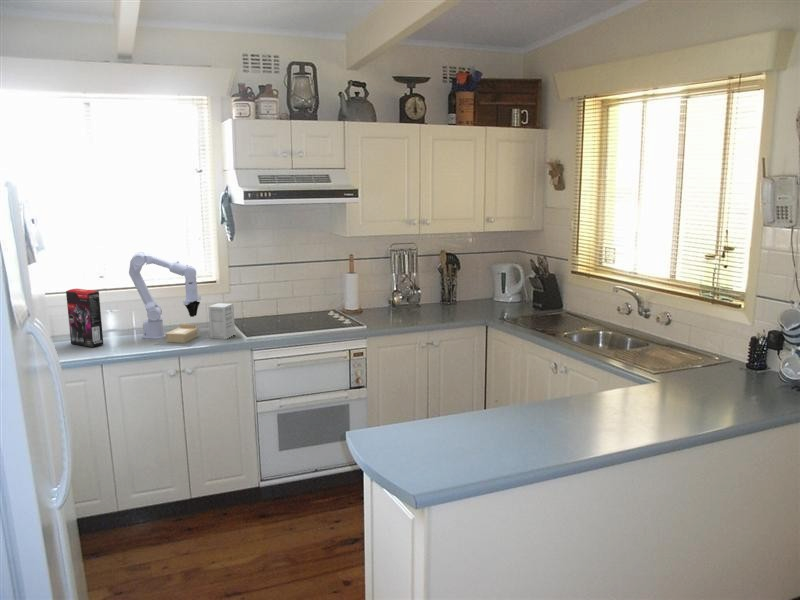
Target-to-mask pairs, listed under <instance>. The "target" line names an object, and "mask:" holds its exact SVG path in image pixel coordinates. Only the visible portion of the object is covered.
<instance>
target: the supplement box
mask: <svg viewBox="0 0 800 600" xmlns="http://www.w3.org/2000/svg"><path fill="white" fill-rule="evenodd" d="M234 312H235V311H234V303H219V302H217V303H215V304H214V303H213V304H211V305H209V306H208V316H209V318H208V319H209V331H210V335H209V336H210V338H211V339H224V340H228V339H230V338H232V337H234V336H233V335H235V336H236V327H235V326H236V325H235V313H234ZM231 336H232V337H231ZM229 337H230V338H229ZM227 338H228V339H227Z"/></svg>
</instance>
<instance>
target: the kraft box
mask: <svg viewBox="0 0 800 600" xmlns="http://www.w3.org/2000/svg"><path fill="white" fill-rule="evenodd" d="M198 335H199V334H198V331H197V332H195V333H193V334H191V335H189V336H186V337H184V335H167V336H166V339H167V343H186V342H188V341H190V340H192V339H194V338H196V337H198Z"/></svg>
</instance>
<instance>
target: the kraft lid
mask: <svg viewBox="0 0 800 600" xmlns="http://www.w3.org/2000/svg"><path fill="white" fill-rule="evenodd" d="M195 332H197V333H198V332H199V327H196V324H188V323H187V324H184V323H183V324H182V323H180V324H179V327H177V328H174V329H173V330H170V331H168V332H166V333H165V334H166V336H165V337H167V335H184V337H186V336H189V335H191V334H193V333H195Z"/></svg>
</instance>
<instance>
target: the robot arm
mask: <svg viewBox="0 0 800 600" xmlns="http://www.w3.org/2000/svg"><path fill="white" fill-rule="evenodd" d="M145 264H146V266H147V265H156V266H160V267H163V268H167V269H168V270H169V272H171V273H172V274H176V275H178V276H181V277H184V278H185V280H184V281H185V282H184V285H185V298H186V299H185V300H183V306H185V307H186V309H187V311H188V315H189V317H190V318H191V317H192V318H194V317H196V316H197V314H198V308H199V306H200V303H201V302H200V301H201V300H202V299H201V296H199V295H198V282H197V270H196V268H194V267H193V266H191V265H188V264H186V265H185V264H183V263H181V262H180V261H178V260H176V261H172V262H170V261H168V260H165V259H163V258H160V257H158V256H156V255H152V254H149V253H145V252H141V251H139V252H137V253H135V254H134V255H133V256H132V257H131V259H130V261H129V269H128V275H129V277H130V278H131V281H132V282H133V284H134V287H135V289H136V290H137V292H138V294H139V296H140V299H141V300H142V302H143V304H144V307H145V311H146V313H147V314H146V317H147V319H145V320H144V321H143V323H142V334H143V336H142V339H161V338H164V337H167V336H166V333H165V334H164V332H165V331H164V321H163V320H164V319H163V317H161V315H162V314H163V313H162V312H163V310H162V308H161V307H160V306H158V304H157V302H156V301H155V300H154V298H153V296H152V294H151V291H150V290H149V288H148V286H147V284H146V282H145V280H144V278H143V276H142V274H141V270H142V269H143V266H144V265H145Z"/></svg>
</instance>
